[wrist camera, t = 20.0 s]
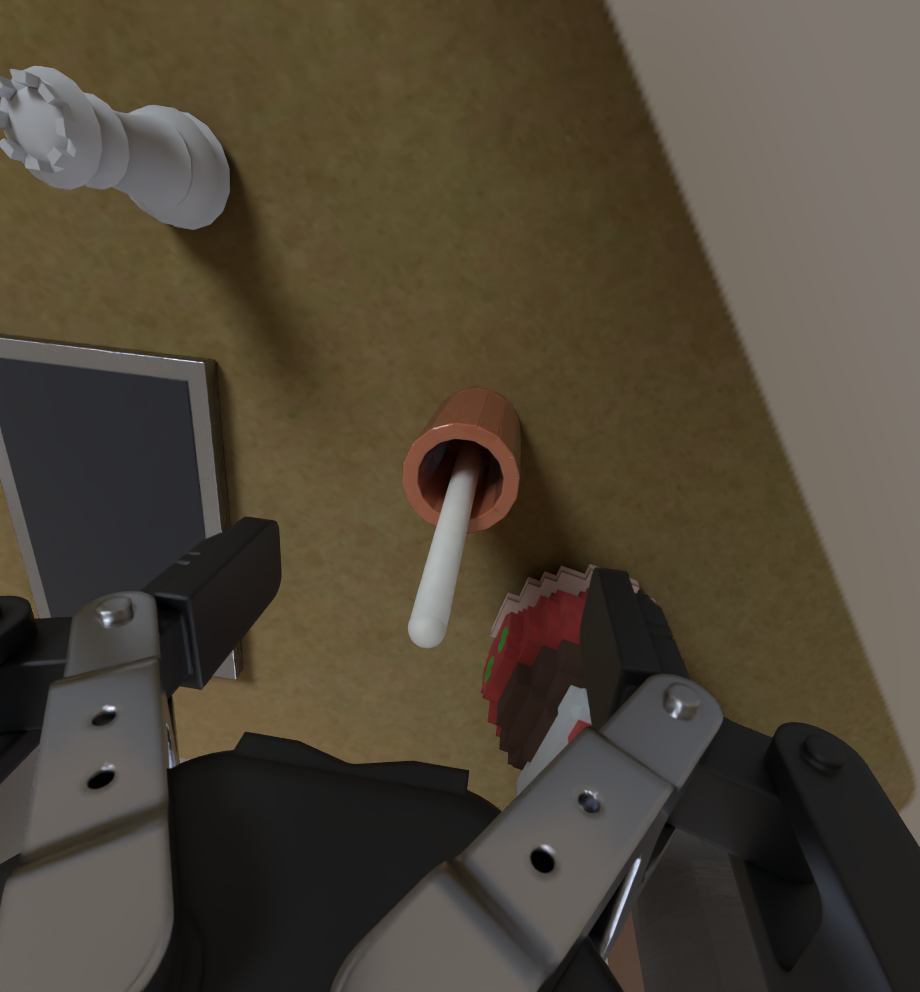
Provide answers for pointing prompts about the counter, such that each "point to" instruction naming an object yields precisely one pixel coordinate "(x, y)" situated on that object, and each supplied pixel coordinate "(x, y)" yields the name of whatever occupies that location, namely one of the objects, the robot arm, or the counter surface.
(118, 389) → the tablet
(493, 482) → the pen cup
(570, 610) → the cake
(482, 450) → the stylus
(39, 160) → the rook chess piece
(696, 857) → the coffeepot
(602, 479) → the counter surface
